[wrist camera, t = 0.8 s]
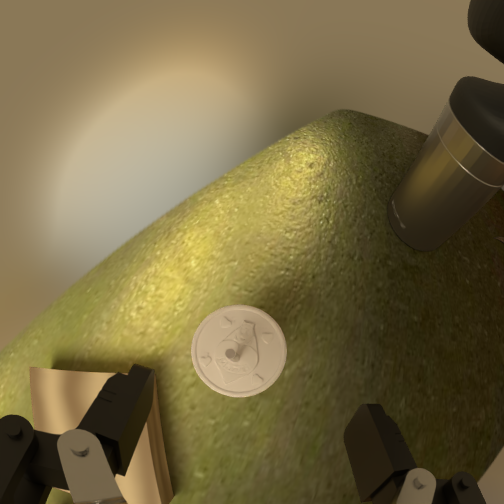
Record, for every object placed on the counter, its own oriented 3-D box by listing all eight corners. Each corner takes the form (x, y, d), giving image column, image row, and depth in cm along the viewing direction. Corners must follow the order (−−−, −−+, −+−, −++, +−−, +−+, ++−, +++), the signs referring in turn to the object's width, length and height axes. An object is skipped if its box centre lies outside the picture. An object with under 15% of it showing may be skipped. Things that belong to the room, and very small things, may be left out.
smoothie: (201, 376, 26) (154, 375, 13) (224, 317, 29) (200, 267, 16) (263, 399, 25) (273, 421, 13) (285, 338, 28) (313, 305, 15)
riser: (155, 374, 26) (141, 373, 23) (173, 496, 21) (163, 511, 17) (50, 370, 26) (29, 366, 22) (65, 478, 20) (46, 485, 16)
